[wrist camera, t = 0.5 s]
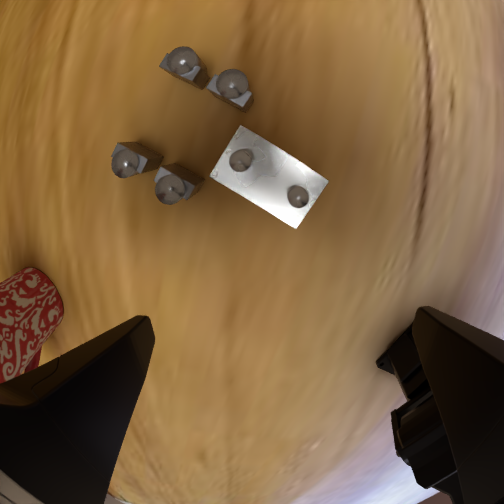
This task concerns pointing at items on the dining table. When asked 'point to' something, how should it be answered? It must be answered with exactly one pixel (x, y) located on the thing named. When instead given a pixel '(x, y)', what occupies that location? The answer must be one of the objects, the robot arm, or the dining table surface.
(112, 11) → the dining table surface
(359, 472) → the dining table surface
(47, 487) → the robot arm
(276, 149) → the block with round pegs
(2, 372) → the mug
